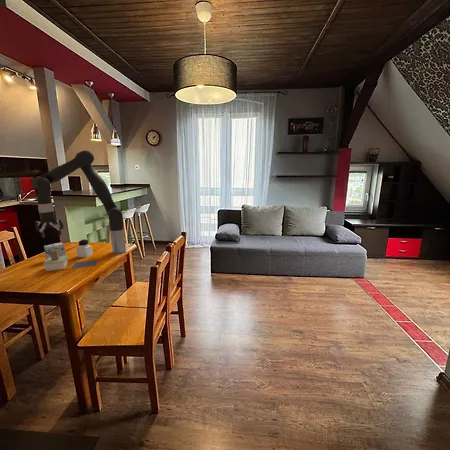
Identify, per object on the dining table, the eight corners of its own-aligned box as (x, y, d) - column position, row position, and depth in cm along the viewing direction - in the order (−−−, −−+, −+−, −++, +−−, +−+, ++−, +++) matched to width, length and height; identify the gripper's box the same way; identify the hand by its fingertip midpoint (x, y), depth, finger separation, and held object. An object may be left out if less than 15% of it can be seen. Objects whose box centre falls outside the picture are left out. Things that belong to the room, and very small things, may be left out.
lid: (68, 256, 167) (66, 246, 165) (63, 262, 157) (61, 251, 155) (48, 258, 163) (46, 248, 162) (42, 264, 153) (40, 254, 152)
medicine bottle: (92, 254, 186) (90, 238, 183) (86, 257, 179) (84, 241, 176) (83, 254, 187) (81, 238, 184) (77, 257, 180) (74, 241, 177)
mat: (98, 259, 174) (98, 259, 174) (95, 266, 163) (95, 265, 163) (75, 262, 169) (75, 262, 169) (71, 269, 158) (71, 268, 158)
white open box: (67, 264, 167) (66, 257, 166) (64, 269, 158) (62, 262, 157) (50, 266, 164) (49, 259, 163) (46, 271, 155) (44, 264, 154)
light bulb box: (49, 262, 171) (46, 247, 168) (46, 260, 175) (43, 245, 172) (66, 258, 179) (64, 243, 177) (62, 256, 183) (60, 242, 181)
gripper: (61, 209, 158) (66, 234, 162) (34, 211, 154) (40, 236, 157) (58, 210, 152) (63, 236, 155) (30, 213, 147) (35, 239, 151)
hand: (51, 236), depth 156 cm, fingers open, 8 cm apart
